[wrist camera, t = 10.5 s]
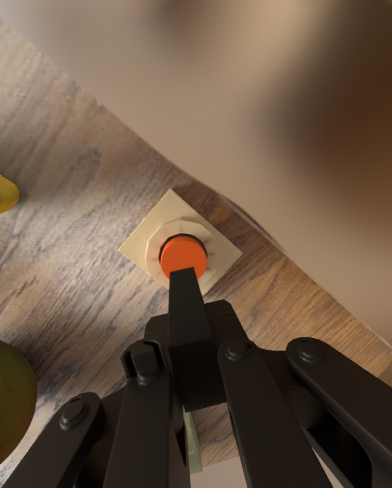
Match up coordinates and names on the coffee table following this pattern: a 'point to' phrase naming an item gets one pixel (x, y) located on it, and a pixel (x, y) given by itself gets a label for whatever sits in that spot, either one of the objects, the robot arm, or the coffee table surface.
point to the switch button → (183, 256)
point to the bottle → (7, 194)
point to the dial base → (192, 444)
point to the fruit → (15, 398)
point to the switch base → (173, 225)
